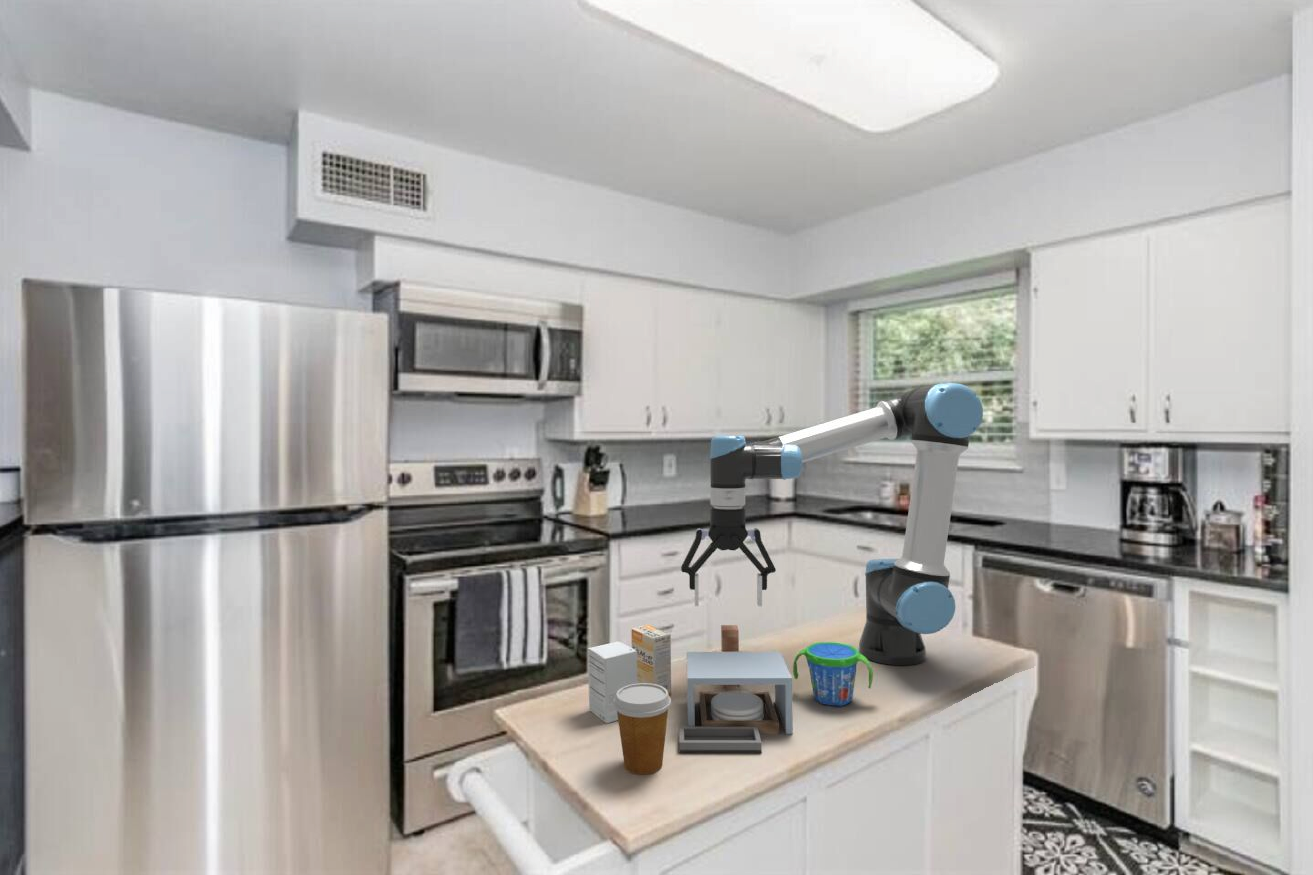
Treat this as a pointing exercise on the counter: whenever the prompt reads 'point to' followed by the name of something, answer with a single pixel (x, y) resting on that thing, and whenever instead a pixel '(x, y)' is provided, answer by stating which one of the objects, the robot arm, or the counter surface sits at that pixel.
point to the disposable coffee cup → (642, 725)
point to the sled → (732, 645)
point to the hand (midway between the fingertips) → (728, 604)
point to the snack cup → (832, 671)
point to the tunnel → (741, 677)
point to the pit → (720, 740)
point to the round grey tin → (736, 707)
